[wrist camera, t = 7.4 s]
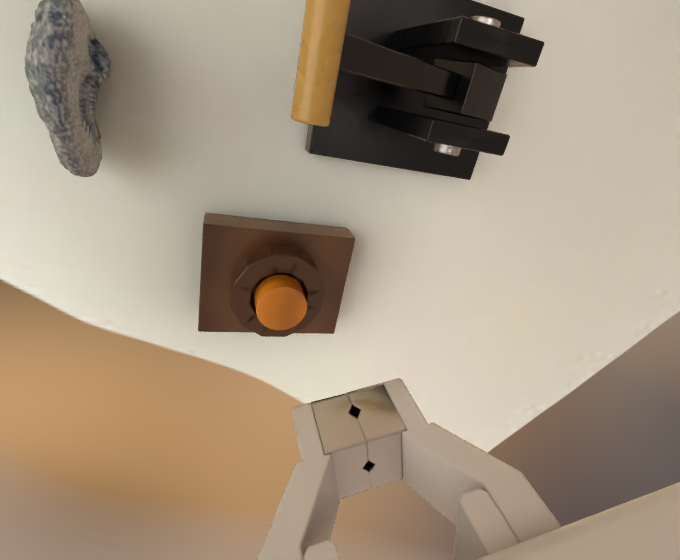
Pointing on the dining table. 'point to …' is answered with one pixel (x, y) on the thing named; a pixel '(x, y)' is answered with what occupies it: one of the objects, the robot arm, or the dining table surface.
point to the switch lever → (382, 70)
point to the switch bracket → (407, 105)
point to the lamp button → (280, 302)
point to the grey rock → (67, 81)
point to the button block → (270, 271)
